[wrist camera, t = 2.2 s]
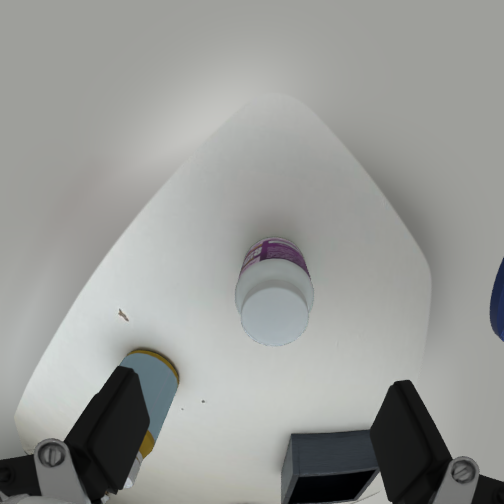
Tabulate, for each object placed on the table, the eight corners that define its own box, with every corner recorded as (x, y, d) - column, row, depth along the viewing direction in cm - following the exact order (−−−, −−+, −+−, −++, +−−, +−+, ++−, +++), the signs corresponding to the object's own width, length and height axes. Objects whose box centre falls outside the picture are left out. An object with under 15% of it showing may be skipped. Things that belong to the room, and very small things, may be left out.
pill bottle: (249, 230, 25) (236, 266, 15) (309, 242, 25) (332, 284, 15) (238, 287, 26) (222, 347, 17) (295, 298, 26) (306, 361, 17)
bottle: (192, 380, 30) (153, 489, 15) (154, 398, 31) (112, 490, 17) (149, 337, 28) (83, 438, 14) (115, 360, 30) (53, 447, 16)
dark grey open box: (373, 429, 31) (384, 465, 24) (350, 468, 34) (356, 500, 28) (291, 433, 31) (292, 474, 25) (281, 472, 35) (281, 506, 28)
